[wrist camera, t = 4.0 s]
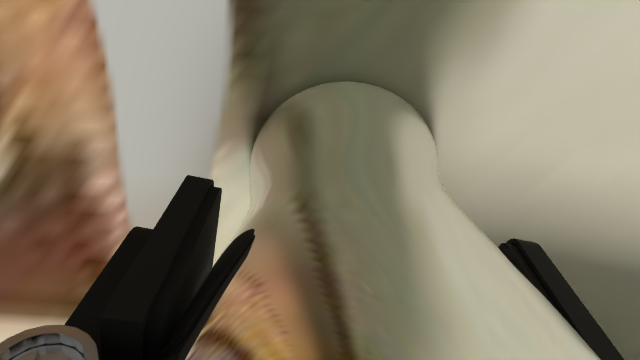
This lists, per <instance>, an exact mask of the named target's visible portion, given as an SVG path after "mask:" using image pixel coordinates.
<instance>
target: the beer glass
mask: <svg viewBox="0 0 640 360" xmlns="http://www.w3.org/2000/svg"><path fill="white" fill-rule="evenodd" d="M249 181H250V206H249V210H248V212H247V214H246V216H245V218H244V220H243V221H242V223H241V225H240V226H239V228H238V230H237V231H236V233H235V235H234V236H233V238H232V239H231V241H230V242H229V244H228V245H227V247H226V248H225V250H224V251H223V253H222V254H221V256H220V257H219V259H218V260H217V262H216V263H215V265H214V266H213V268H212V269H211V271H210V272H209V274H208V275H207V277H206V278H205V280H204V281H203V283H202V285H201V286H200V288H199V289H198V291H197V292H196V294H195V295H194V297H193V299H192V300H191V302H190V303H189V305H188V306H187V308H186V310H185V311H184V313H183V314H182V316H181V317H180V319H179V320H178V322H177V324H176V325H175V327H174V328H173V330H172V331H171V333H170V335H169V336H168V338H167V340H166V341H165V343H164V345H163V347H162V348H161V350H160V352H159V354H158V355H157V357H156V359H155V360H601V359H600V357H599V356H598V355H597V354H596V353H595V352H594V350H593V349H592V348H591V347H590V346H589V345H588V344H587V342H586V341H585V340H584V339H583V338H582V337H581V336H580V334H579V333H578V332H577V331H576V330H575V329H574V327H573V326H572V325H571V324H570V323H569V322H568V321H567V319H566V318H565V317H564V316H563V315H562V314H561V312H560V311H559V310H558V309H557V308H556V307H555V306H554V305H553V304H552V303H551V302H550V301H549V300H548V299H547V298H546V297H545V295H544V294H543V293H542V292H541V291H540V290H539V289H538V288H537V287H536V286H535V285H534V284H533V283H532V282H531V281H530V280H529V279H528V278H527V277H526V276H525V275H524V274H523V273H522V272H521V271H520V270H519V269H518V268H517V266H516V265H515V264H514V263H513V262H512V261H511V260H510V259H509V258H508V257H507V256H506V255H505V254H504V253H503V252H502V251H501V250H500V249H499V248H498V247H497V246H496V245H495V244H494V243H493V242H492V241H491V240H490V239H489V238H488V237H487V236H486V235H485V234H484V233H483V232H482V231H481V230H480V229H479V228H478V227H477V226H476V225H475V224H474V223H473V222H472V221H471V220H470V219H469V218H468V217H467V216H466V214H465V213H464V212H463V211H462V210H461V209H460V208H459V207H458V206H457V205H456V203H455V202H454V201H453V200H452V199H451V198H450V196H449V195H448V193H447V192H446V190H445V189H444V186H443V184H442V182H441V178H440V174H439V167H438V158H437V151H436V146H435V142H434V139H433V137H432V134H431V132H430V130H429V128H428V126H427V125H426V123H425V121H424V120H423V119H422V117H421V116H420V115H419V113H418V112H417V111H416V110H415V109H414V108H413V107H412V106H411V105H410V104H408V103H407V102H406V101H405V100H403V99H402V98H400V97H399V96H397V95H395V94H394V93H392V92H390V91H388V90H385V89H383V88H380V87H377V86H374V85H370V84H366V83H360V82H349V81H342V82H331V83H325V84H321V85H317V86H314V87H311V88H308V89H306V90H303V91H301V92H299V93H297V94H296V95H294V96H292V97H291V98H289V99H288V100H286V101H285V102H284V103H282V104H281V105H280V106H279V107H278V108H277V109H276V110H275V111H274V112H273V113H272V114H271V115H270V116H269V117H268V119H267V120H266V121H265V123H264V124H263V126H262V128H261V129H260V131H259V133H258V135H257V137H256V140H255V142H254V146H253V149H252V153H251V158H250V167H249Z"/></svg>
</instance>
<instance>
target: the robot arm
mask: <svg viewBox="0 0 640 360" xmlns="http://www.w3.org/2000/svg"><path fill="white" fill-rule="evenodd" d="M221 193H222V189H221V188H217V187H214V181H213V180H210V179H205V178H200V177H195V176H190V175H188V176H186V178H185V179H184V181H183V183H182V184H181V186H180V187H179V189H178V191H177V192H176V194H175V196H174V197H173V199H172V200H171V202H170V204H169V205H168V207H167V209H166V210H165V212H164V213H163V215H162V217H161V218H160V220H159V221H158V223H157V224H156V226H155V228H154V229H148V228H142V227H134V228H133V229H132V230H131V231H130V232H129V234H128V235H127V236H126V238H125V239H124V241H123V242H122V244H121V245H120V246H119V248H118V249H117V251H116V252H115V254H114V255H113V256H112V258H111V259H110V261H109V262H108V264H107V265H106V266H105V268H104V269H103V271H102V272H101V274H100V275H99V276H98V278H97V279H96V281H95V282H94V283H93V285H92V286H91V288H90V289H89V291H88V292H87V293H86V295H85V296H84V298H83V299H82V301H81V302H80V303H79V305H78V306H77V308H76V309H75V311H74V312H73V313H72V315H71V316H70V318H69V319H68V321H67V322H66V323H65V325H45V326H41V327H36V328H32V329H28V330H25V331H23V332H21V333H18V334H16V335H14V336H12V337H10V338H7V339H6V340H5V341H3V342H2V343H0V360H155V359H156V357H157V355H158V354H159V352H160V350H161V348H162V347H163V345H164V343H165V341H166V340H167V338H168V336H169V335H170V333H171V331H172V330H173V328H174V327H175V325H176V324H177V322H178V320H179V319H180V317H181V316H182V314H183V313H184V311H185V310H186V308H187V306H188V305H189V303H190V302H191V300H192V299H193V297H194V295H195V294H196V292H197V291H198V289H199V288H200V286H201V285H202V283H203V281H204V280H205V278H206V277H207V275H208V274H209V272H210V271H211V269H212V266H213V258H214V250H215V242H216V234H217V226H218V218H219V210H220V202H221ZM498 248H499V249H500V250H501V251H502V252H503V253H504V254H505V255H506V256H507V257H508V258H509V259H510V260H511V261H512V262H513V263H514V264H515V265H516V266H517V268H518V269H519V270H520V271H521V272H522V273H523V274H524V275H525V276H526V277H527V278H528V279H529V280H530V281H531V282H532V283H533V284H534V285H535V286H536V287H537V288H538V289H539V290H540V291H541V292H542V293H543V294H544V295H545V297H546V298H547V299H548V300H549V301H550V302H551V303H552V304H553V305H554V306H555V307H556V308H557V309H558V310H559V311H560V312H561V314H562V315H563V316H564V317H565V318H566V319H567V321H568V322H569V323H570V324H571V325H572V326H573V327H574V329H575V330H576V331H577V332H578V333H579V334H580V336H581V337H582V338H583V339H584V340H585V341H586V342H587V344H588V345H589V346H590V347H591V348H592V349H593V350H594V352H595V353H596V354H597V355H598V356H599V357H600V359H601V360H624V359H623V357H622V356H621V355H620V353H619V352H618V351H617V349H616V348H615V347H614V345H613V344H612V343H611V341H610V340H609V338H608V337H607V336H606V334H605V333H604V332H603V330H602V329H601V328H600V326H599V325H598V324H597V322H596V321H595V319H594V318H593V317H592V315H591V314H590V313H589V311H588V310H587V309H586V307H585V306H584V305H583V303H582V302H581V301H580V299H579V298H578V296H577V295H576V294H575V292H574V291H573V290H572V288H571V287H570V286H569V284H568V283H567V282H566V280H565V279H564V277H563V276H562V275H561V273H560V272H559V271H558V269H557V268H556V267H555V265H554V264H553V263H552V261H551V260H550V258H549V257H548V256H547V254H546V253H545V252H544V250H543V249H542V248H541V246H540V245H539V244H537V243H534V242H528V241H523V240H518V239H510V240H509V241H507V242H506V243H502V244H501V245H500V246H499V247H498Z"/></svg>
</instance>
